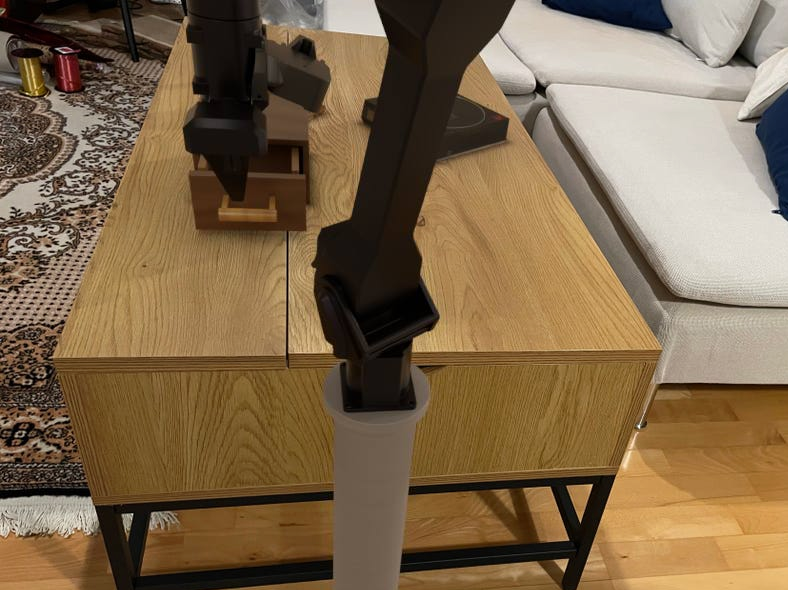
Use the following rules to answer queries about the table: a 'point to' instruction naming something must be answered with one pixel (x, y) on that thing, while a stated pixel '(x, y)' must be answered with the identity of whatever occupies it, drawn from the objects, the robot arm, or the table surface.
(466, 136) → the portable cd player
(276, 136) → the cabinet
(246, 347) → the table surface
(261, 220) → the drawer
